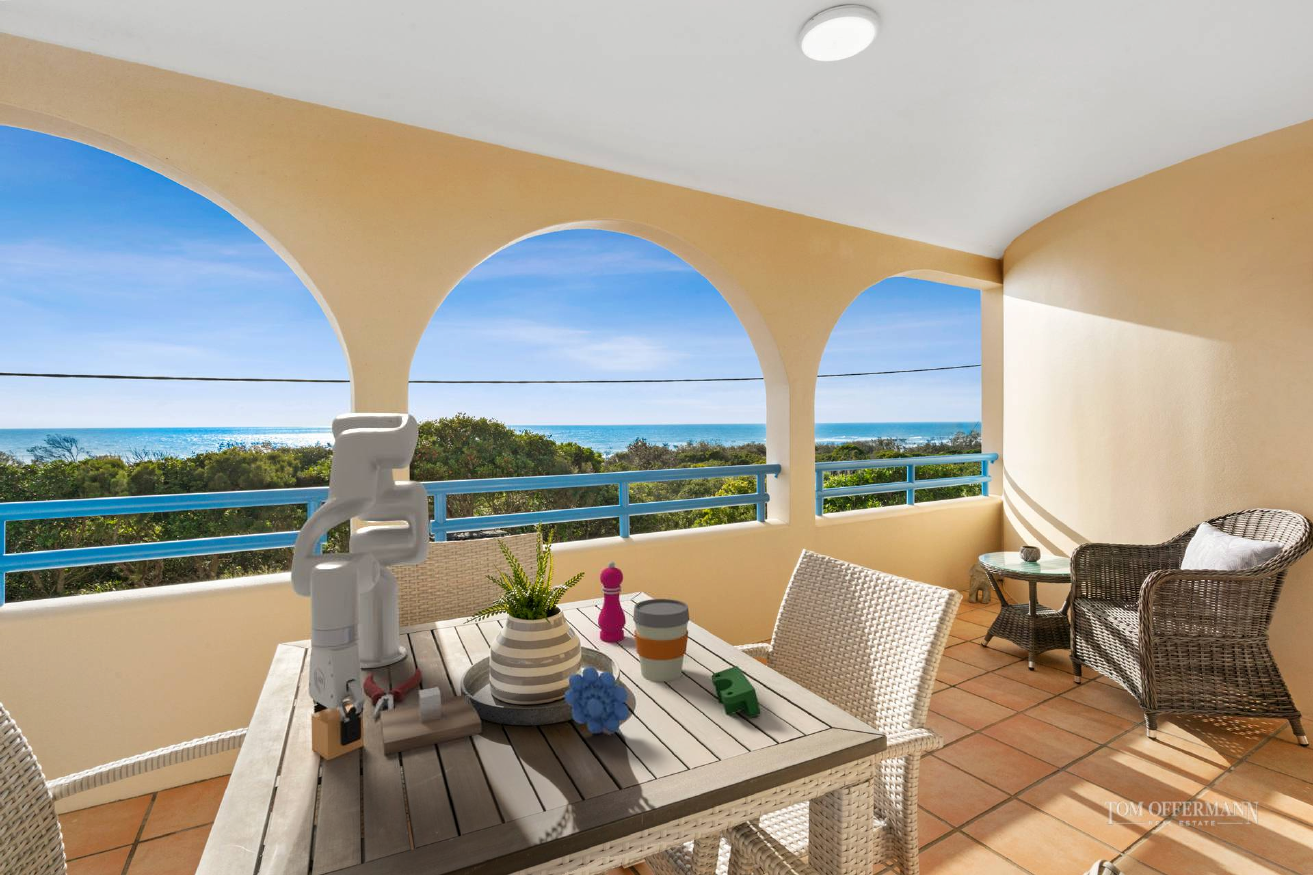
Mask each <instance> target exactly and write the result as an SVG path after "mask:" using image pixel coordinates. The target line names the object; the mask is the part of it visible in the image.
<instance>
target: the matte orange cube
mask: <svg viewBox="0 0 1313 875" xmlns="http://www.w3.org/2000/svg"><path fill="white" fill-rule="evenodd" d="M351 707H353V704H352V705H350V706H347V707H346V710H347V713H348V711H349V710H350V708H351ZM310 716H311V719H310V720H311V749H312V751H314V752H315V753H317V754H318V755H320V756H321V757H322V758H324V760H327V761H330V760H333V759H336V758H338V757H339V756H342V755H345V754H347V753H349V752H352V751H354V750H357V749H359V748H361V747H364V746H365V739H364V737H365V736H364V735H365V734H364V725H365V724H364V723H365V722H364V711H363V712H362V717H361V739H360V740H358V741H355V742H353V743H350V744H348V745H345V746H342V745H341V742H340V722H341V721H343V719H342V716H341V713H340V710H339V707H337V709H335V710H331V709H329V708H328V709H325V710H322V711H319V712H317V713H314V712H313V713H311V715H310Z"/></svg>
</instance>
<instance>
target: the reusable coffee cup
mask: <svg viewBox="0 0 1313 875" xmlns="http://www.w3.org/2000/svg"><path fill="white" fill-rule="evenodd" d="M633 608H634V609H633V616H632V617H633V619H632V620H633V623H634V626H635V629H634V632H633V634H634V639H635V640H634V641H635V649H636V653H637V654H638V657H639V666H640V672H641V676H642V677H643V678H644V679H646V680H648V681H652V682H660V683H661V682H662V683H663V682H671V681H675V680H677V679H679V678H680V677H681V676H682V673H683V663H684V658H685V657H684V655H685V654H686V652H687V646H688V640H689V639H688V638H689V637H688V636H689V630H688V623H689V621H690V613H689V612H690V611H689V605H688V604H687V603H686V602H683V601H681V600H677V599H672V598H652V599H647V600H642V601H639V602H637V603H635V604H634V607H633Z"/></svg>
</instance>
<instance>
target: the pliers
mask: <svg viewBox="0 0 1313 875" xmlns="http://www.w3.org/2000/svg"><path fill="white" fill-rule="evenodd" d="M422 674H423V673H422V670H421V669H420V668H415V671H414V674H413V676H411V677H410V678H408V679H407V680H405V681H404V682H402V683H401V684H399V685H398V686H396V687H394V688H393V689H391V690H390V691H388V694H387V692H386V690H384V689H382V688H380V687H379V686H378V685H377V684H375V683H374V673H369V674H368V675H367V676H366V677H365V679H364V682H363V685H362V686H363V687H362V689H363V690H364V692H365V693H366V695H368V696H369V697H370V698H371V705H372V706H375V710H374V714H373V717H372V718H373V720H375V719H376V718H377V717H378V716H380V711H384V707H385V708H386V707H387V710H390V709H395V708H394V707H395V706H394V703H395V702H398V703H400V702H403V701H404V696H406V695H407V694H408V693H410V692H411V691H412V690H414V689H415V688H417V687H418V686H419V685H420V684H421V681H422ZM372 682H373V683H372Z"/></svg>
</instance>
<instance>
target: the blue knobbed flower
mask: <svg viewBox="0 0 1313 875" xmlns="http://www.w3.org/2000/svg"><path fill="white" fill-rule="evenodd" d="M581 674H582V675H581ZM581 674H579V673H574V674H572V675H569V678H568V686H569V687H570V689H568V690H566V691H565V693H564V701H565V702H566V704H567V705H568V706H569V707H571V708H572V710H571V716H572V719H573V720H574V721H575V723H577V724H579V725H580V724H581V725H583V724H585V723H586V726H587V729H588V730H589V732H590V733H593V734H594V735H595V734H597V735H598V734H600V733H602V732H603V729H605V730H606V731H607V732H609V733H616V732H617V731H618V730H619V729H620V721H625V720H627V719H628V718H629V715H630V711H629V707H628V706H627V704H625V702H626V701H627V699H628V691H627V690H626V688H624V686H622V685H618V684H617V685H616V682H617V681H616V676H614V674H613V673H612V672H610V671H606V670H605V671H602V672H600V674H599V671H598V670H597V669H596V668H594V667H593V666H587V667H585V668H583V670H582V673H581Z"/></svg>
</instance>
